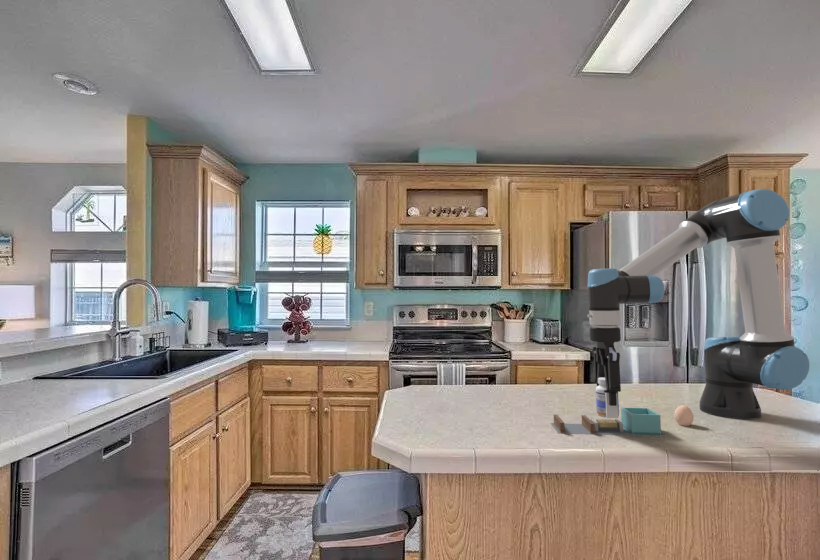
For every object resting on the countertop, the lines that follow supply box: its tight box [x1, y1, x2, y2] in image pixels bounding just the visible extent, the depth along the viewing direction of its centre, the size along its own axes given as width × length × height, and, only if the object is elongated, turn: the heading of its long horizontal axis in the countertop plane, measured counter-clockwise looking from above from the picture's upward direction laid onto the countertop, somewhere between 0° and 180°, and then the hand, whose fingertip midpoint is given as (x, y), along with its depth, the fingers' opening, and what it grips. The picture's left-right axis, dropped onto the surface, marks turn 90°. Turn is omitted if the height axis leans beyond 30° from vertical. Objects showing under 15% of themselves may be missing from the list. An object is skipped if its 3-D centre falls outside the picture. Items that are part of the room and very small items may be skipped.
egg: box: [673, 404, 694, 427], centre depth 118 cm, size 4×4×6 cm
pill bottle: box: [595, 377, 620, 419], centre depth 114 cm, size 5×5×10 cm
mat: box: [550, 422, 666, 438], centre depth 114 cm, size 26×9×1 cm, turn 84°
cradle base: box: [590, 418, 623, 432], centre depth 114 cm, size 7×4×2 cm, turn 84°
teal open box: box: [620, 406, 662, 435], centre depth 113 cm, size 7×7×5 cm
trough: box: [553, 414, 595, 435], centre depth 115 cm, size 8×8×2 cm
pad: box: [595, 418, 617, 428], centre depth 114 cm, size 4×3×1 cm
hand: (607, 414), depth 114 cm, fingers closed on pill bottle, 5 cm apart
